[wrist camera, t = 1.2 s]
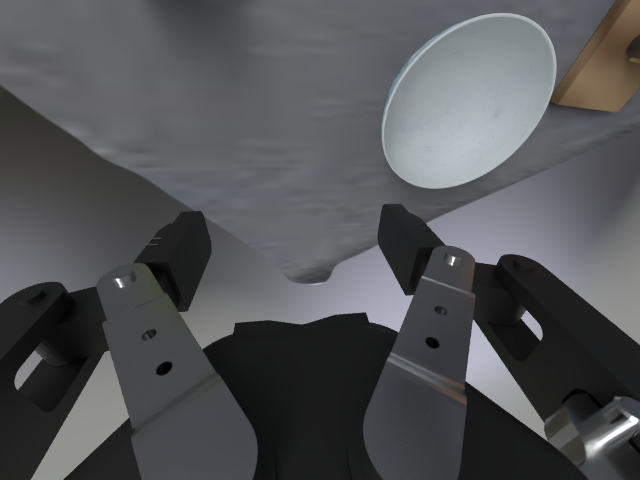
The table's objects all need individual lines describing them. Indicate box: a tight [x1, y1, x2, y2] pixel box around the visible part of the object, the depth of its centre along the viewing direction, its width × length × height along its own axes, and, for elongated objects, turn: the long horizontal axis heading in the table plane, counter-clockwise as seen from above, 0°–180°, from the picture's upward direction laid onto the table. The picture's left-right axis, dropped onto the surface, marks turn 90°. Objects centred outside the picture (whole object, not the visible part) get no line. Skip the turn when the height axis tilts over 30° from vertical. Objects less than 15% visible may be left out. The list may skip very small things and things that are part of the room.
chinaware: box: [381, 13, 556, 189], centre depth 27 cm, size 15×15×8 cm
